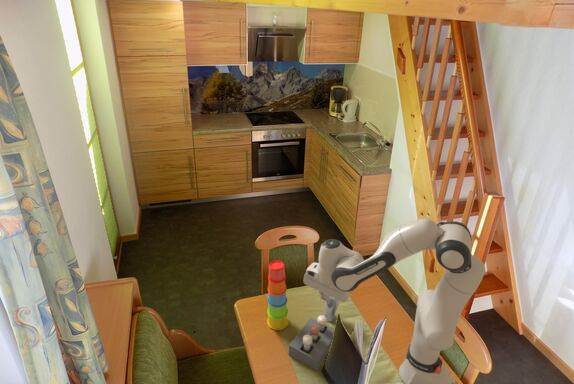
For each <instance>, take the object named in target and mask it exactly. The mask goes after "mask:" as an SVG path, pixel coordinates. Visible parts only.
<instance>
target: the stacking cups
mask: <svg viewBox="0 0 574 384" xmlns="http://www.w3.org/2000/svg"><path fill="white" fill-rule="evenodd" d="M285 268H286V267H285V264H284V262H283V261H281V260H273V261H271V262H270V263H269V265H268V276H267V279H268V285H267V292H268V296H267V297H268V298H267V300H266V301H267V303H268V304H267V305H268V308H267V310H266V312H267V313H266V314H267V315H268V317H267V321H266V323H267V326H268V328H270V329H271V330H273V331H281V330H284V329H286V328H287V327H288V326H289V323H290V321H289V318H288V313H289V309H288V307H287V303H288V297H287V285H286V279H287V275H286V272H285V271H286V269H285Z"/></svg>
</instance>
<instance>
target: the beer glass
mask: <svg viewBox="0 0 574 384" xmlns="http://www.w3.org/2000/svg"><path fill="white" fill-rule="evenodd" d="M324 294H325V293H324ZM325 295H327V294H325ZM323 303H324V304H323V306H324V312H323V316H325V317H326V318H327V321H326V322H328V323H331V322H332V321H333V322H334V321H335V320H336V312H337V309H338V306H339V303H340V300H338V299H336V298H334V297H332V296H330V297H328V300H327V301H325V300H324V301H323Z"/></svg>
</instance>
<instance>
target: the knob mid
mask: <svg viewBox="0 0 574 384" xmlns="http://www.w3.org/2000/svg"><path fill="white" fill-rule="evenodd" d="M319 332H320V327H319V326H318V325H312V326H311V329H310V333H311V336H312V338H313V339H312V341H316V340H317V337H318V334H319Z"/></svg>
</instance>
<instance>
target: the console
mask: <svg viewBox="0 0 574 384" xmlns="http://www.w3.org/2000/svg"><path fill="white" fill-rule="evenodd" d="M307 320H308V321H307V322H306V323H305V325H304V326H303V327H302V328H301V329H300V331H299V332H298V333H297V334H296V336H295V337H294V339H292V341H291V342H290V344H289V346H288V355H289V356H290V357H292V358H293V359H296V360H297V361H299V362H300V363H303V364H304V365H306V366H308V367H310V368H312V369H313V370H315V371H318V369H319V368H320V367H321V365H322V364H323V362H324V360H325V359H326V357H327V356H328V354H329V353H330V351H329V349H330V346H331V343H332V340H333V334H334V330H336V329H335V328H332V327H331V326H329V325H327V324H326V325H325V326H324V330H323V331H320V332H319V334H318V337H317V340H316V341H312V344H311V345H310V350H309V351H305V350H304V344H303V336H304V335H311V333H310V329H311V326H312V325H318V323H317V320H318V319H314V318H313V317H309V319H307ZM328 352H329V353H328Z"/></svg>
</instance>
